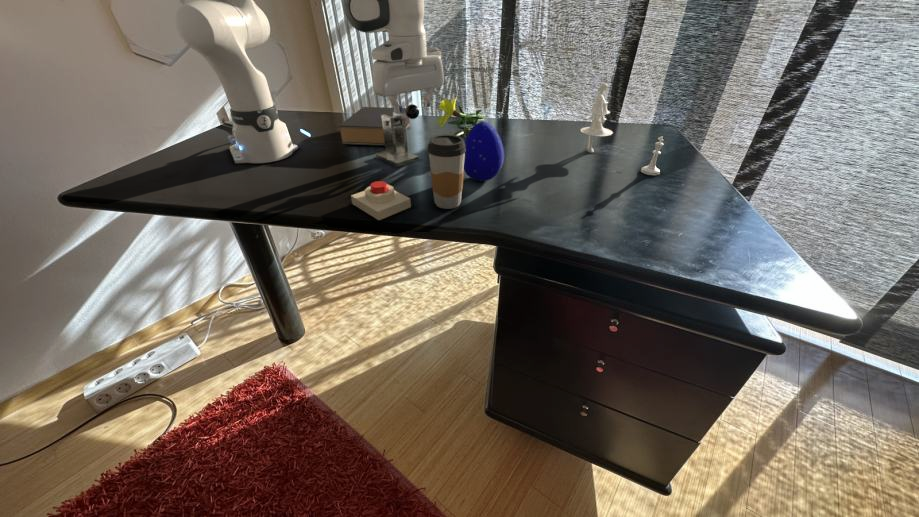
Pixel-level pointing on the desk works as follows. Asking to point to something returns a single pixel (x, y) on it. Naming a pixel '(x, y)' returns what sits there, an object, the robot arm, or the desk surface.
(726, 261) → the desk surface
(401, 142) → the metal bracket
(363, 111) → the book
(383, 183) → the button
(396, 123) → the lever
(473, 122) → the daffodil flowers
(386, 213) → the block
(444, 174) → the coffee cup
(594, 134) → the figurine
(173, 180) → the desk surface
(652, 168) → the chess piece
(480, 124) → the ornament
